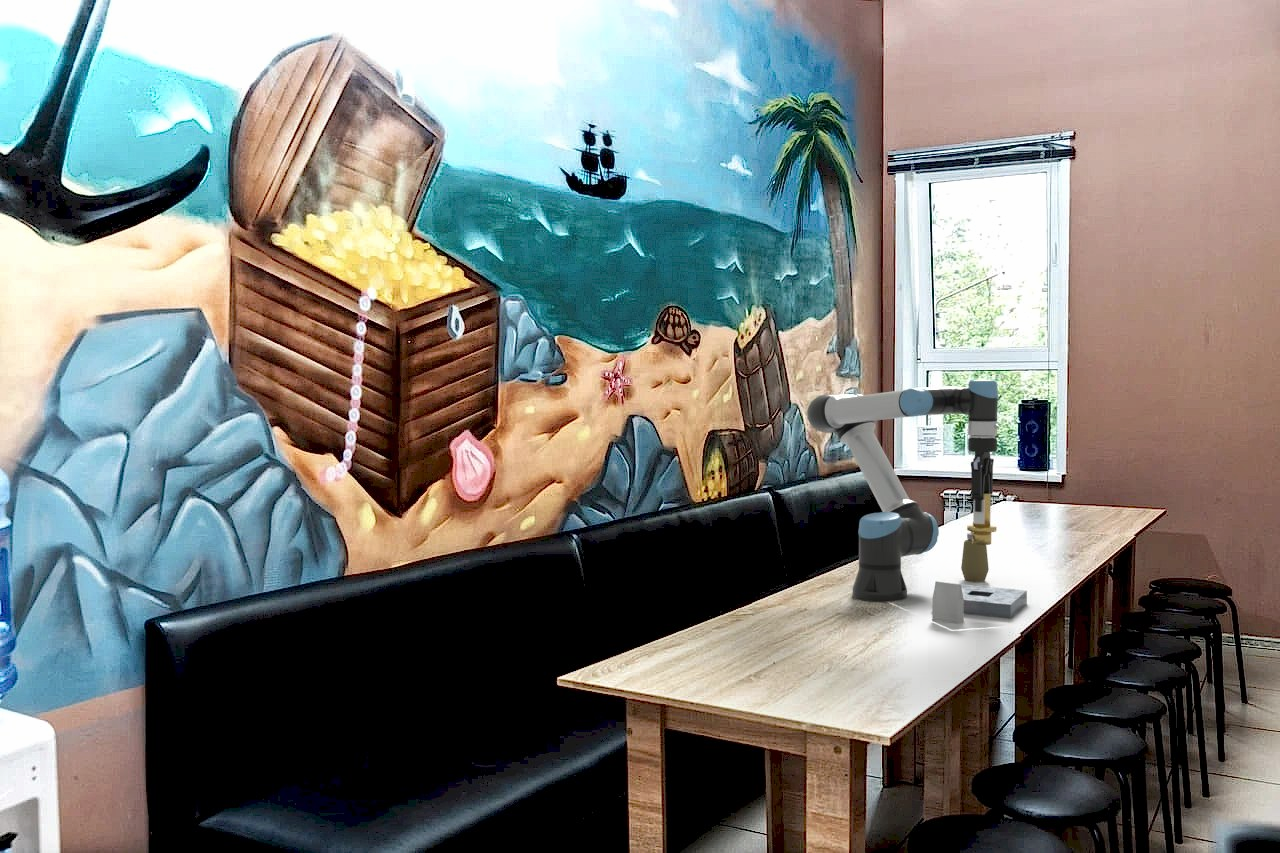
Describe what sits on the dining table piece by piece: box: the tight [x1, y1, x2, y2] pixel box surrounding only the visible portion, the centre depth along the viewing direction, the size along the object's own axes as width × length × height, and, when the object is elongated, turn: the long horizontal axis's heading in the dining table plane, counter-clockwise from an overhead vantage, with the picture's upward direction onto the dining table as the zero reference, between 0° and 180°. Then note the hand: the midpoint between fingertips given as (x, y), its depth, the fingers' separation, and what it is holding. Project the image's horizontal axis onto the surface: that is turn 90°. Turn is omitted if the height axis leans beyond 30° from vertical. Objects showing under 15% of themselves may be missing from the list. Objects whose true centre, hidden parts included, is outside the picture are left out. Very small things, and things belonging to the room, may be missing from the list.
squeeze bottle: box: [960, 531, 990, 583], centre depth 329 cm, size 8×8×18 cm
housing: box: [960, 583, 1028, 620], centre depth 292 cm, size 20×20×4 cm
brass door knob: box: [966, 493, 997, 546], centre depth 295 cm, size 8×8×14 cm
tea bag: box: [931, 580, 965, 624], centre depth 277 cm, size 4×7×10 cm, turn 51°
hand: (981, 522), depth 295 cm, fingers closed on brass door knob, 4 cm apart
